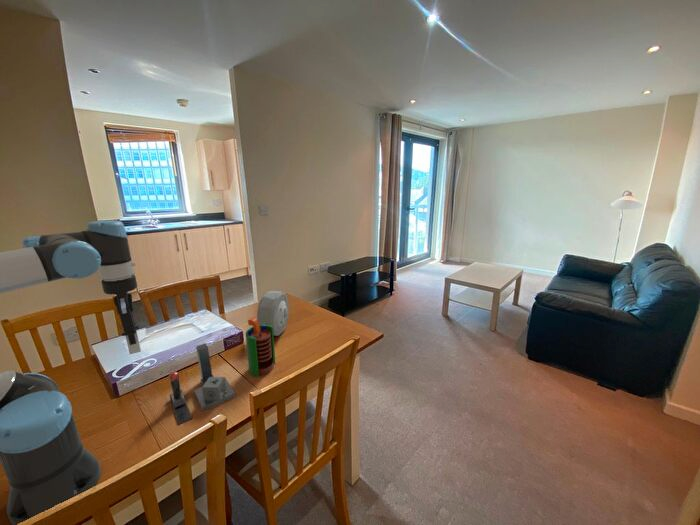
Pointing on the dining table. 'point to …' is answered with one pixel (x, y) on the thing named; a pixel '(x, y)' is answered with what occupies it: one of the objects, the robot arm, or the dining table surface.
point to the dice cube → (214, 388)
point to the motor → (260, 348)
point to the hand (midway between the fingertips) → (135, 351)
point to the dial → (274, 311)
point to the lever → (176, 390)
